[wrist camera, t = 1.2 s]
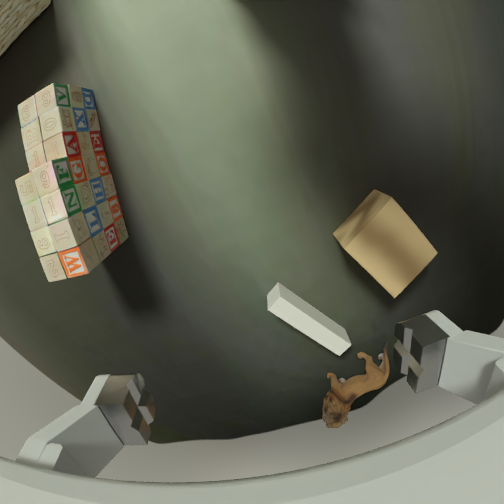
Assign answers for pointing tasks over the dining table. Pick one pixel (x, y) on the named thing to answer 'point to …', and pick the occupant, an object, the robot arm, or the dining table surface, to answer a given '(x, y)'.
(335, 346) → the fence board
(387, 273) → the oak block
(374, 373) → the lion figurine
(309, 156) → the dining table surface
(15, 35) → the storage basket
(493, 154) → the dining table surface
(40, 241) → the stack of blocks
